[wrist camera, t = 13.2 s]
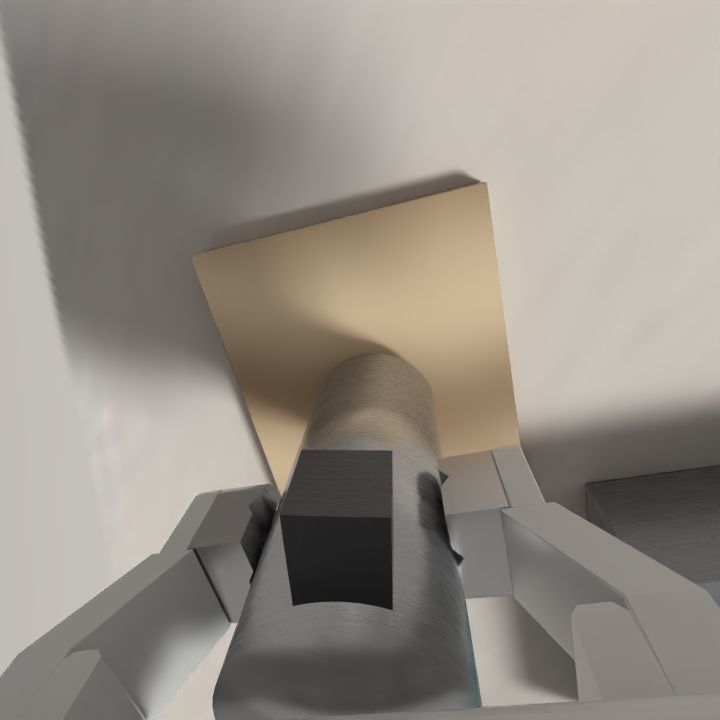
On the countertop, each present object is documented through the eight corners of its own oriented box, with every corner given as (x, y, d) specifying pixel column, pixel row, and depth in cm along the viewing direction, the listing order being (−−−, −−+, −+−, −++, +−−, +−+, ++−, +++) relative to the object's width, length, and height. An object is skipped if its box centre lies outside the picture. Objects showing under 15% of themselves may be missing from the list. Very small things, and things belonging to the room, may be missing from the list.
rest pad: (199, 253, 13) (190, 257, 12) (482, 182, 11) (486, 182, 11) (299, 522, 16) (295, 535, 16) (523, 492, 15) (528, 504, 14)
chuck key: (308, 308, 12) (163, 540, 4) (437, 306, 11) (507, 551, 4) (325, 488, 14) (248, 831, 7) (431, 490, 14) (470, 851, 7)
